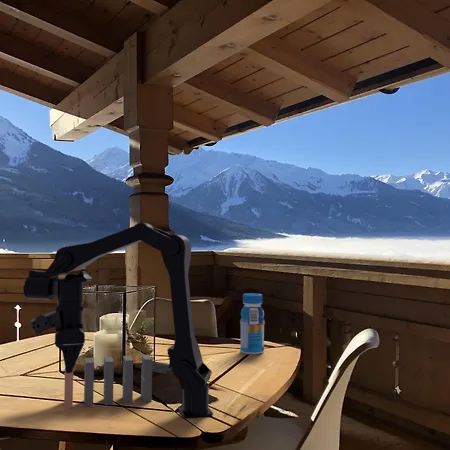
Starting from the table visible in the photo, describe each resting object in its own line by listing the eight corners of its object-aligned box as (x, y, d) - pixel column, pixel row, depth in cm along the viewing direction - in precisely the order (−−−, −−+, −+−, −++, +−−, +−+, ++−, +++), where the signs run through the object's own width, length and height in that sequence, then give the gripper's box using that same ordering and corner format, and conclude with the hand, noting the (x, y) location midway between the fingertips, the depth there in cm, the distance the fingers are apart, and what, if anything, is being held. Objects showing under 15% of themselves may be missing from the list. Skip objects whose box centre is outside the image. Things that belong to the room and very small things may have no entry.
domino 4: (129, 396, 126) (130, 355, 126) (132, 403, 121) (133, 360, 121) (122, 397, 125) (123, 356, 125) (124, 403, 120) (125, 360, 121)
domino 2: (91, 399, 123) (92, 357, 123) (93, 406, 118) (94, 362, 118) (84, 400, 122) (84, 358, 123) (85, 406, 118) (85, 362, 118)
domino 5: (148, 395, 127) (149, 354, 127) (151, 401, 122) (152, 359, 123) (140, 395, 126) (141, 354, 127) (144, 402, 122) (144, 359, 122)
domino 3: (111, 398, 124) (111, 356, 125) (113, 404, 120) (113, 361, 120) (103, 398, 124) (104, 357, 124) (105, 405, 119) (105, 361, 119)
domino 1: (72, 401, 122) (73, 358, 122) (72, 408, 117) (73, 363, 117) (64, 401, 121) (65, 359, 121) (64, 408, 116) (65, 364, 117)
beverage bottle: (235, 352, 176) (235, 294, 177) (248, 348, 183) (248, 292, 184) (256, 356, 171) (256, 296, 172) (268, 351, 178) (269, 294, 179)
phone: (142, 359, 161) (182, 365, 154) (142, 363, 161) (182, 369, 154) (126, 364, 154) (167, 371, 147) (126, 368, 154) (167, 375, 147)
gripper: (35, 296, 126) (33, 360, 126) (30, 306, 108) (29, 381, 108) (82, 295, 129) (81, 358, 129) (85, 305, 112) (84, 377, 111)
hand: (68, 368), depth 119 cm, fingers open, 9 cm apart
